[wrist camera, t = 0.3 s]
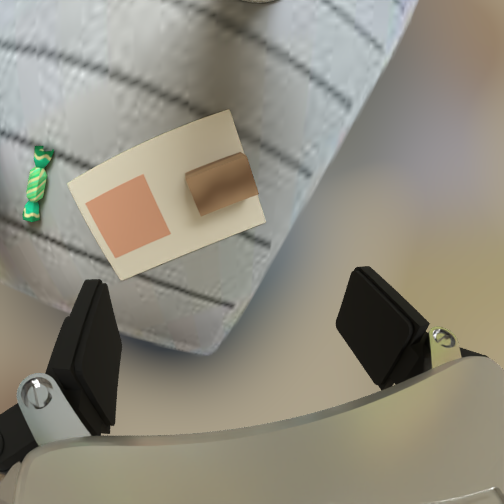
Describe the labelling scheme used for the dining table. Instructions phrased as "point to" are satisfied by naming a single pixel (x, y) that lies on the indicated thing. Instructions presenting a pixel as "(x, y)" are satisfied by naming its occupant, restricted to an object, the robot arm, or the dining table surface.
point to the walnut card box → (221, 183)
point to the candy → (36, 184)
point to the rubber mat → (161, 197)
